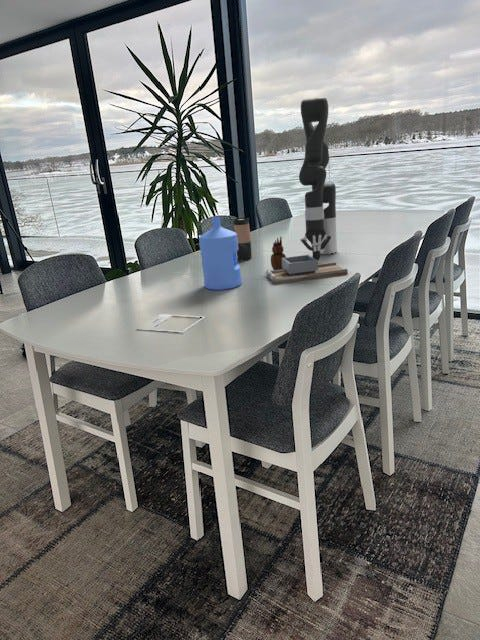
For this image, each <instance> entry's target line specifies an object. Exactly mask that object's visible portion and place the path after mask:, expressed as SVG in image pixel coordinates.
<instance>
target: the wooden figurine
mask: <svg viewBox="0 0 480 640" xmlns="http://www.w3.org/2000/svg"><path fill="white" fill-rule="evenodd" d="M282 242H283V241H282V236H280V238H279V237H277V238H276V239H275V241H274V242H273V244H272V247H271V251H272V254H271V256H270V266H271V268H272V269H273V270H280V269H283V268H282V259H281V258H286V257H287V256H286V254H285V253H284V246H283V243H282Z"/></svg>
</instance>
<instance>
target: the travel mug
mask: <svg viewBox="0 0 480 640" xmlns="http://www.w3.org/2000/svg"><path fill="white" fill-rule="evenodd" d="M250 228H251V227H250V219H249V217H237V218H234V219H233V229H234V231H233V232H235V233H237V238H238V251H237V252H236V255H237V261H248V260H252V240H251V233H250V232H251V229H250Z"/></svg>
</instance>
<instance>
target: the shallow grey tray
mask: <svg viewBox="0 0 480 640" xmlns="http://www.w3.org/2000/svg"><path fill="white" fill-rule="evenodd" d="M281 259H282V268H283V269H284V271H285V272H288V273H289V274H290V276H294V273H301V272H308V271H311V273H315V270H318V263H319V262H318V261H319V260H317V259H315V258H313V255H310V254H302V255H301V254H300V255H295V256H294V255H293V256H286V258H281Z"/></svg>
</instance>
